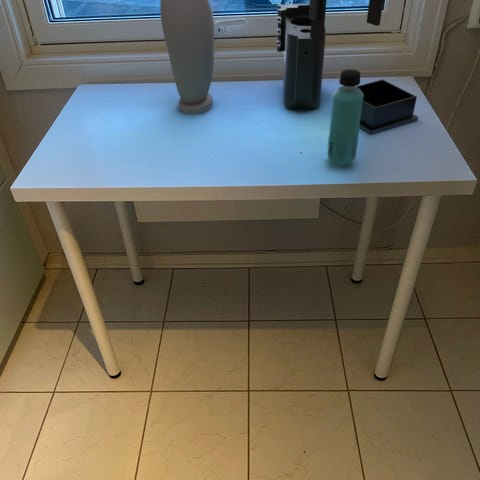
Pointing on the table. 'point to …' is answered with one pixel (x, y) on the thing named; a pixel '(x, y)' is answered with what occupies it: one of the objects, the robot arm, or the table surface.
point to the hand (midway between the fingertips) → (345, 31)
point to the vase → (190, 50)
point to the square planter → (385, 107)
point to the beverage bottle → (345, 118)
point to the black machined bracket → (300, 57)
